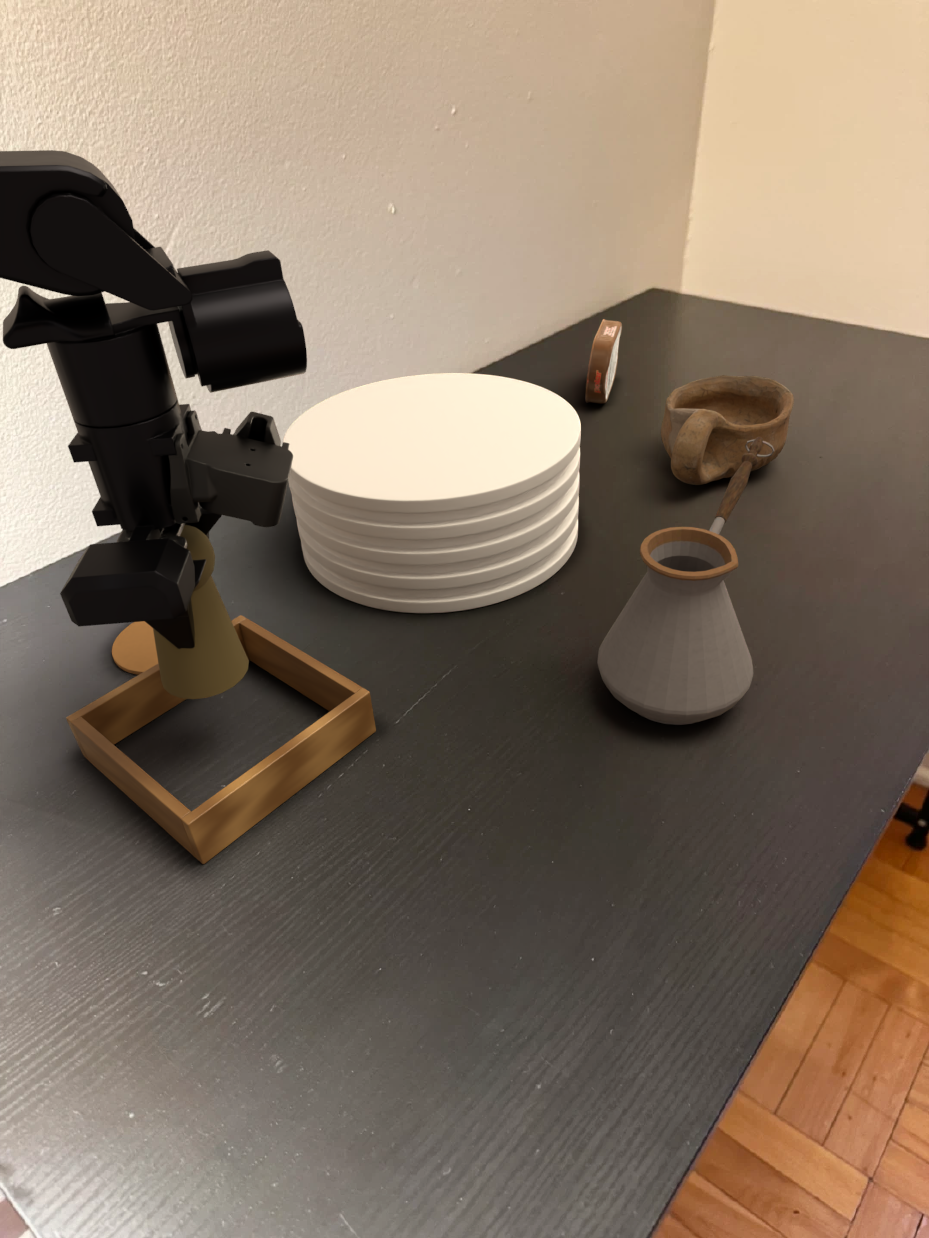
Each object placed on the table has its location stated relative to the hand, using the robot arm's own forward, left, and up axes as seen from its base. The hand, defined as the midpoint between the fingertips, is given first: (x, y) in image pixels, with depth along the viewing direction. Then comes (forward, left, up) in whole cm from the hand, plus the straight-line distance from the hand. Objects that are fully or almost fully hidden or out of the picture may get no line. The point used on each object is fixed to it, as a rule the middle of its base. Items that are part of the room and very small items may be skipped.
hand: (194, 626), depth 57 cm
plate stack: (+32, +8, -11) cm, 35 cm away
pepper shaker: (0, 0, -4) cm, 4 cm away
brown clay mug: (+60, -8, -11) cm, 62 cm away
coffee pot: (+30, -22, -11) cm, 39 cm away
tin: (+72, +15, -11) cm, 74 cm away
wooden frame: (0, 0, -11) cm, 11 cm away
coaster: (+4, +15, -11) cm, 19 cm away
